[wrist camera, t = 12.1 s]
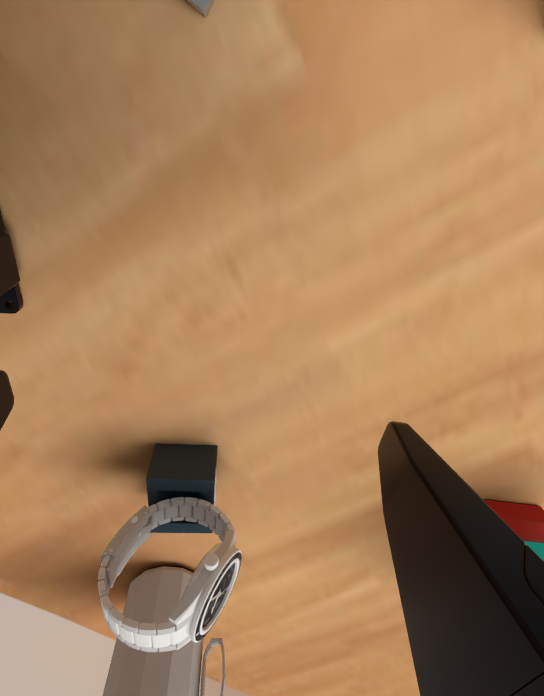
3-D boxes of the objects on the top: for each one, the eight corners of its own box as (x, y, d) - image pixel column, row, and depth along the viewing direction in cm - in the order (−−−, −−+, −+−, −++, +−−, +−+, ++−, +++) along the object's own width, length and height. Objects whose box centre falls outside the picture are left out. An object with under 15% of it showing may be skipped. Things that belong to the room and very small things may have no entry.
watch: (239, 497, 31) (237, 664, 22) (135, 495, 30) (86, 667, 21) (244, 445, 28) (244, 612, 19) (130, 441, 27) (69, 613, 18)
